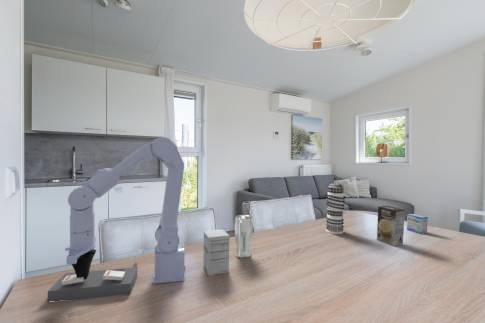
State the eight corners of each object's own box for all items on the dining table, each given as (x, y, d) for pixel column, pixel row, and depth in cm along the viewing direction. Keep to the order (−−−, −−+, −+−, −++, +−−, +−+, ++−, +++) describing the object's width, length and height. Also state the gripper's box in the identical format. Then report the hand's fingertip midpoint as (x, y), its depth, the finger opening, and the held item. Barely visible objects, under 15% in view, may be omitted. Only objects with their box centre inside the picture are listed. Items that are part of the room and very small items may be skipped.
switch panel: (141, 264, 86) (141, 255, 86) (130, 293, 68) (130, 281, 68) (77, 269, 82) (77, 259, 82) (47, 302, 64) (47, 289, 64)
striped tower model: (321, 230, 131) (322, 183, 130) (334, 228, 134) (335, 182, 134) (334, 235, 122) (335, 185, 122) (348, 233, 126) (349, 184, 126)
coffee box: (375, 239, 117) (376, 206, 116) (385, 238, 119) (386, 205, 119) (394, 246, 108) (395, 210, 108) (404, 244, 111) (405, 209, 110)
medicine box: (406, 230, 133) (407, 214, 133) (411, 229, 135) (412, 213, 135) (422, 234, 126) (422, 217, 126) (427, 233, 128) (427, 216, 128)
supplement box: (202, 266, 86) (203, 230, 86) (223, 263, 89) (223, 228, 88) (207, 276, 79) (208, 237, 79) (229, 272, 82) (230, 235, 81)
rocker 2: (124, 274, 72) (125, 271, 72) (121, 280, 69) (122, 276, 69) (106, 273, 71) (106, 269, 71) (102, 279, 68) (103, 275, 68)
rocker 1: (87, 276, 70) (86, 272, 70) (82, 281, 67) (82, 277, 67) (67, 279, 69) (67, 275, 69) (61, 285, 66) (61, 281, 66)
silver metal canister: (241, 250, 101) (242, 213, 101) (255, 254, 97) (256, 216, 97) (230, 255, 96) (231, 217, 96) (244, 260, 92) (245, 220, 91)
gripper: (77, 223, 74) (77, 268, 75) (52, 240, 60) (52, 294, 60) (103, 222, 76) (103, 266, 76) (84, 238, 62) (84, 291, 62)
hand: (82, 278), depth 68 cm, fingers closed, pressing on rocker 1
